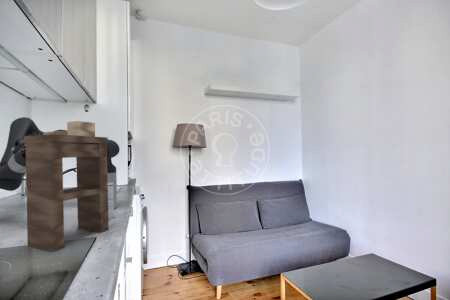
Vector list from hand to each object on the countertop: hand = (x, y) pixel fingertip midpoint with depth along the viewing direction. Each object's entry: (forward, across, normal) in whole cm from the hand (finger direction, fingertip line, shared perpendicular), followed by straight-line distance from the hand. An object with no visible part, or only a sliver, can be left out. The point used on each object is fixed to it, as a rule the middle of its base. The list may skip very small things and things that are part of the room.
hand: (49, 135), depth 80 cm
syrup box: (-10, -15, -33) cm, 38 cm away
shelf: (-3, +3, -37) cm, 37 cm away
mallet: (+7, 0, -5) cm, 9 cm away
